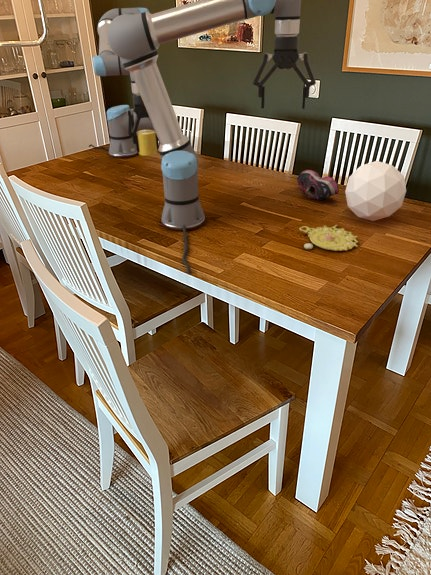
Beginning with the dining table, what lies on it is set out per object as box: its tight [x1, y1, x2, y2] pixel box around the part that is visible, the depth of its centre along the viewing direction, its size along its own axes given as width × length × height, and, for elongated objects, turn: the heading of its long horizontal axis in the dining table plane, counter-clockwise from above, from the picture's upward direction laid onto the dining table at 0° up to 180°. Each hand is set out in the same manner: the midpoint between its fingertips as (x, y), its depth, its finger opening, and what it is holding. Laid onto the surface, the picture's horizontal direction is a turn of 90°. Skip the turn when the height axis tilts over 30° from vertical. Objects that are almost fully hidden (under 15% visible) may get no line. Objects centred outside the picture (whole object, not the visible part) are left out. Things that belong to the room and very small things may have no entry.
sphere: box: [344, 160, 407, 222], centre depth 150 cm, size 19×20×20 cm
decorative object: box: [299, 224, 359, 252], centre depth 141 cm, size 21×2×20 cm
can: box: [136, 130, 158, 157], centre depth 191 cm, size 8×8×9 cm
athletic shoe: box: [294, 169, 340, 201], centre depth 171 cm, size 11×22×12 cm
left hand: (147, 149), depth 192 cm, fingers closed on can, 8 cm apart
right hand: (282, 107), depth 149 cm, fingers open, 13 cm apart
